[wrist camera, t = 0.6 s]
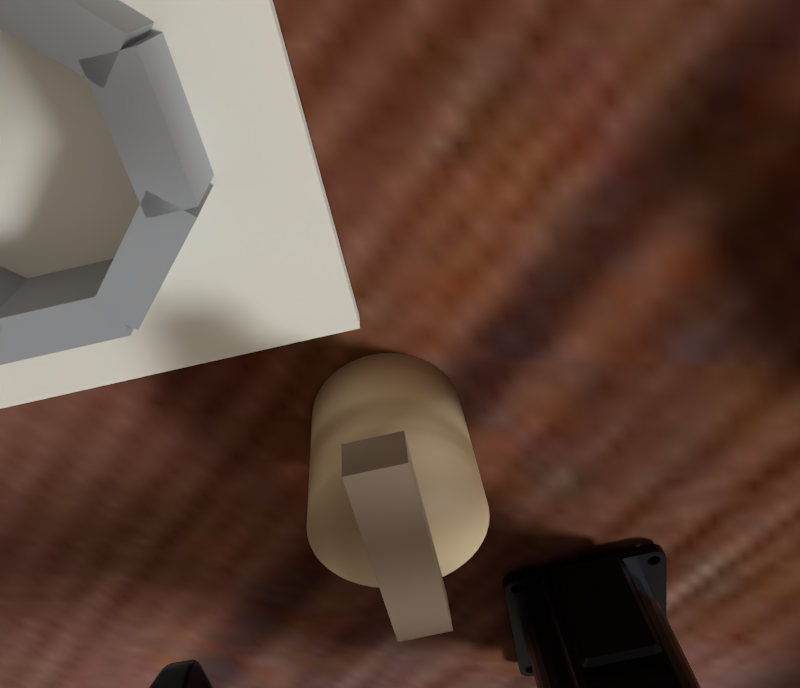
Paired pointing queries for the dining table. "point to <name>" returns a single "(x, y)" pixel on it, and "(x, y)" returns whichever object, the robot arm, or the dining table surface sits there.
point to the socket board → (239, 234)
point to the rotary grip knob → (395, 486)
